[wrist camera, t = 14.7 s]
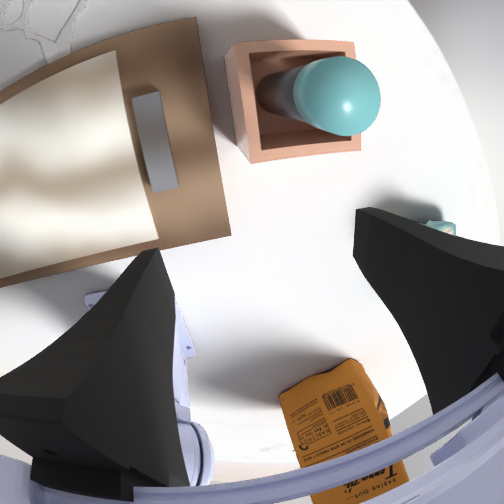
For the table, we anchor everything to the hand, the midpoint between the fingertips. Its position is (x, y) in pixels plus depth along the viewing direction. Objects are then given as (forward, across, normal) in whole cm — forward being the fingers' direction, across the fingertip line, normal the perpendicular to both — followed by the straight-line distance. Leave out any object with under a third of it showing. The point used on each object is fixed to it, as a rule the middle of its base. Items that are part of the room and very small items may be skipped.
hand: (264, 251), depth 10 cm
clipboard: (+10, +13, -3) cm, 17 cm away
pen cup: (+10, -4, -5) cm, 12 cm away
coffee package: (+10, -8, +30) cm, 33 cm away
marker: (+10, -4, -5) cm, 12 cm away
